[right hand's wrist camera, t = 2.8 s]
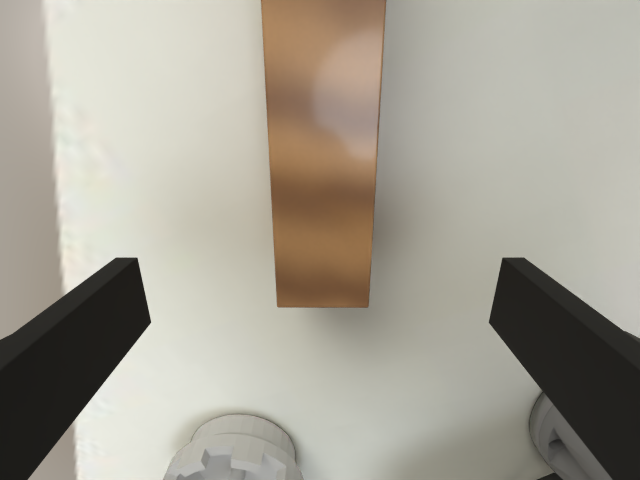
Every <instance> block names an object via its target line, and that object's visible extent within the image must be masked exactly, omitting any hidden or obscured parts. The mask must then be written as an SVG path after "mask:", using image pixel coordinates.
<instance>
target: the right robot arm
mask: <svg viewBox="0 0 640 480" xmlns="http://www.w3.org/2000/svg"><path fill="white" fill-rule="evenodd" d="M150 323H151V319H150V315H149V310H148V305H147V301H146V296H145V291H144V287H143V282H142V277H141V272H140V268H139V263H138V258H115V259H114V260H112V261H111V262H110V263H108V264H107V265H105V266H104V267H103V268H101V269H100V270H99V271H97V272H96V273H95V274H93V275H92V276H90V277H89V278H88V279H86V280H85V281H84V282H82V283H81V284H80V285H78V286H77V287H76V288H74V289H73V290H71V291H70V292H69V293H67V294H66V295H65V296H63V297H62V298H61V299H59V300H58V301H56V302H55V303H54V304H52V305H51V306H50V307H48V308H47V309H46V310H44V311H43V312H42V313H40V314H39V315H37V316H36V317H35V318H33V319H32V320H31V321H29V322H28V323H27V324H25V325H24V326H22V327H21V328H20V329H18V330H17V331H16V332H14V333H13V334H11V335H9V336H7V337H5V338H3V339H1V340H0V480H28V478H29V477H30V476H31V475H32V473H33V472H34V471H35V470H36V468H37V467H38V466H39V464H40V463H41V462H42V461H43V459H44V458H45V457H46V456H47V454H48V453H49V452H50V450H51V449H52V448H53V447H54V445H55V444H56V443H57V442H58V440H59V439H60V438H61V436H62V435H63V434H64V433H65V431H66V430H67V429H68V428H69V426H70V425H71V424H72V423H73V421H74V420H75V419H76V417H77V416H78V415H79V414H80V412H81V411H82V410H83V409H84V407H85V406H86V405H87V403H88V402H89V401H90V400H91V398H92V397H93V396H94V395H95V393H96V392H97V391H98V389H99V388H100V387H101V386H102V384H103V383H104V382H105V381H106V379H107V378H108V377H109V375H110V374H111V373H112V372H113V370H114V369H115V368H116V367H117V365H118V364H119V363H120V361H121V360H122V359H123V358H124V356H125V355H126V354H127V353H128V351H129V350H130V349H131V347H132V346H133V345H134V344H135V342H136V341H137V340H138V339H139V337H140V336H141V335H142V333H143V332H144V331H145V330H146V328H147V327H148V326H149V325H150ZM489 323H490V325H491V326H492V327H493V328H494V330H495V331H496V332H497V333H498V335H499V336H500V337H501V339H502V340H503V341H504V342H505V344H506V345H507V346H508V347H509V349H510V350H511V351H512V353H513V354H514V355H515V356H516V358H517V359H518V360H519V361H520V363H521V364H522V365H523V367H524V368H525V369H526V370H527V372H528V373H529V374H530V375H531V377H532V378H533V379H534V381H535V382H536V383H537V384H538V386H539V387H540V388H541V389H542V391H543V393H542V394H541V395H540V397H539V398H538V400H537V402H536V404H535V406H534V408H533V410H532V414H531V417H530V434H531V438H532V440H533V443H534V444H535V446H536V447H537V449H538V451H539V452H540V454H541V455H542V457H543V458H544V460H545V461H546V463H547V464H548V465H549V466H550V467H551V468H552V469H553V471H554V472H555V473H552V474H550V475H547V476H545V477H543V478H540V479H538V480H640V338H638V337H636V336H634V335H632V334H630V333H628V332H626V331H623V330H622V329H620V328H619V327H618V326H616V325H615V324H613V323H612V322H611V321H609V320H608V319H607V318H605V317H604V316H603V315H601V314H600V313H598V312H597V311H596V310H594V309H593V308H592V307H590V306H589V305H588V304H586V303H585V302H584V301H582V300H581V299H579V298H578V297H577V296H575V295H574V294H573V293H571V292H570V291H569V290H567V289H566V288H564V287H563V286H562V285H560V284H559V283H558V282H556V281H555V280H554V279H552V278H551V277H550V276H548V275H547V274H545V273H544V272H543V271H541V270H540V269H539V268H537V267H536V266H535V265H533V264H532V263H530V262H529V261H528V260H526V259H525V258H502V263H501V268H500V272H499V277H498V282H497V287H496V291H495V296H494V301H493V305H492V310H491V315H490V319H489Z"/></svg>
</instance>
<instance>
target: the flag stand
mask: <svg viewBox="0 0 640 480" xmlns="http://www.w3.org/2000/svg"><path fill="white" fill-rule="evenodd" d="M163 480H303V477H302V473H301V470H300V469H299V467H298V465H297V464H296V462H295V449H294V446H293V443H292V441H291V440H290V438H289V436H288V435H287V434H286V433H285V432H284V431H283V430H282V429H281V428H279V427H278V426H277V425H275V424H273V423H271V422H269V421H267V420H265V419H262V418H259V417H256V416H250V415H241V414H233V415H226V416H221V417H218V418H214V419H212V420H210V421H208V422H206V423H205V424H203V425H202V426H201V427H200V428H198V430H197V431H196V432H195V434H194V435H193V437H192V440H191V442H190V443H189V444H187V445H186V446H184V447H183V448H182V449H181V450H179V451H178V452H177V453H176V455H175V456H174V457H173V459H172V460H171V462H170V465H169V467H168V469H167V471H166V474H165V476H164V478H163Z"/></svg>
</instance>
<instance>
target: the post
mask: <svg viewBox="0 0 640 480" xmlns="http://www.w3.org/2000/svg"><path fill="white" fill-rule="evenodd" d="M261 9H262V28H263V47H264V66H265V85H266V104H267V123H268V142H269V162H270V181H271V200H272V219H273V238H274V257H275V276H276V295H277V307H354V308H367V307H368V306H369V290H370V273H371V256H372V238H373V221H374V203H375V186H376V168H377V151H378V134H379V116H380V99H381V81H382V64H383V47H384V29H385V12H386V0H261Z"/></svg>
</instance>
